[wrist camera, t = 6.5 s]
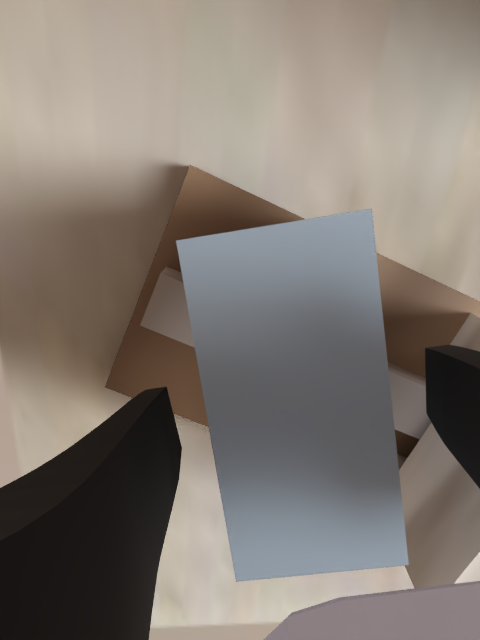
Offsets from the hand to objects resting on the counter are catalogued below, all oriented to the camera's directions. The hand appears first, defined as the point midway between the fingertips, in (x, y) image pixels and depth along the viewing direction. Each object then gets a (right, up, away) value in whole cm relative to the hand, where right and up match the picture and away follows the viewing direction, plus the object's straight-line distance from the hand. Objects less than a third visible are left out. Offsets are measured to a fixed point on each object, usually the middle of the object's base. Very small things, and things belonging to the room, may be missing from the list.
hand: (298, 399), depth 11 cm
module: (0, +1, +3) cm, 4 cm away
